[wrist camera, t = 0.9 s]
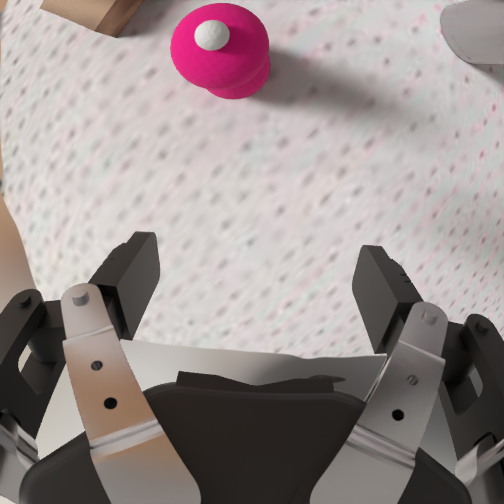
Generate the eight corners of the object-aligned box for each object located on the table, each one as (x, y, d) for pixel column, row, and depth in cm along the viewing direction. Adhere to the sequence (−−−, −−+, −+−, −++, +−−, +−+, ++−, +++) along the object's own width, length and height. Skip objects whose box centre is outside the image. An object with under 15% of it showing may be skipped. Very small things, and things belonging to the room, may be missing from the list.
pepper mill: (192, 63, 28) (115, 29, 10) (245, 30, 26) (233, -47, 8) (226, 111, 31) (188, 127, 13) (280, 78, 29) (314, 52, 11)
